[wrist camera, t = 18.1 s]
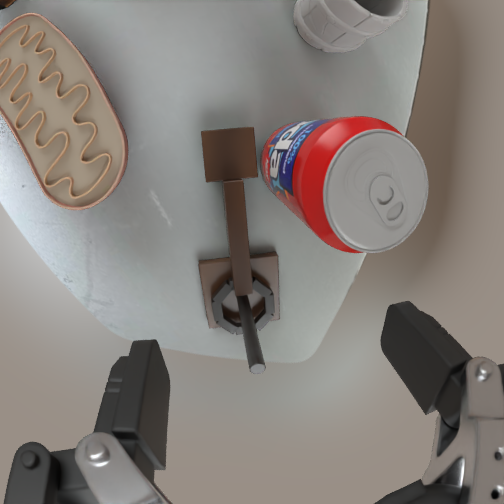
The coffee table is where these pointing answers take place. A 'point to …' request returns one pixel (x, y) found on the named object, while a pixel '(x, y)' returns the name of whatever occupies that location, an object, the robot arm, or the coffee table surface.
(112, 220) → the coffee table surface
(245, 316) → the peg stand
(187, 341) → the coffee table surface
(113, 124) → the mitochondrion model
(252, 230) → the coffee table surface
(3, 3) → the sunglasses case
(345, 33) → the mug
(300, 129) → the soda can
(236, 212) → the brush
